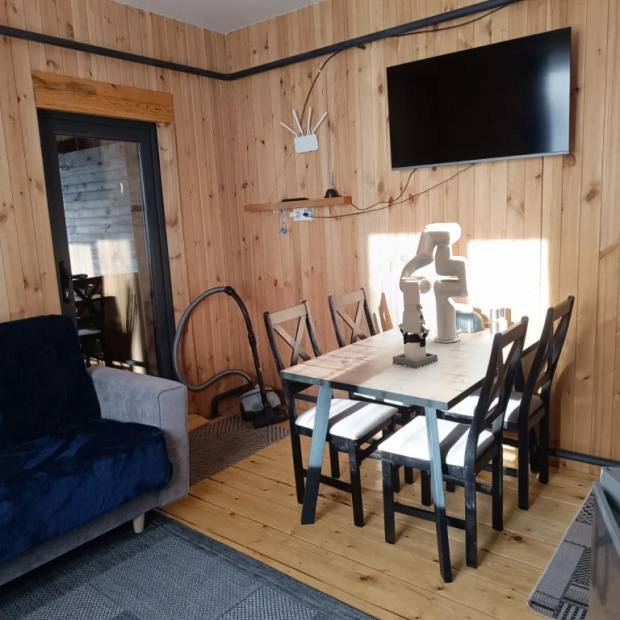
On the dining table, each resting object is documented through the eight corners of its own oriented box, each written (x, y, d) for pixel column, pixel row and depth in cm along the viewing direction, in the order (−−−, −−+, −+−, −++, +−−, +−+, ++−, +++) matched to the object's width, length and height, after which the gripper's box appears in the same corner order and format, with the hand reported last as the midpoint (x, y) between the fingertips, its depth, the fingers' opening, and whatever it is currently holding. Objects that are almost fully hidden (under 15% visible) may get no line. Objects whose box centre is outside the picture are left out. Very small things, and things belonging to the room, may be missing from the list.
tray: (413, 356, 272) (413, 350, 271) (437, 361, 261) (437, 354, 260) (392, 363, 263) (392, 356, 263) (416, 368, 252) (416, 361, 252)
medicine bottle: (426, 360, 260) (425, 334, 258) (412, 363, 257) (411, 336, 255) (418, 357, 266) (417, 331, 264) (404, 359, 264) (403, 334, 262)
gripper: (433, 307, 253) (435, 346, 256) (403, 304, 267) (405, 340, 270) (421, 311, 249) (424, 349, 252) (392, 307, 262) (394, 344, 265)
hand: (414, 345), depth 261 cm, fingers open, 9 cm apart
